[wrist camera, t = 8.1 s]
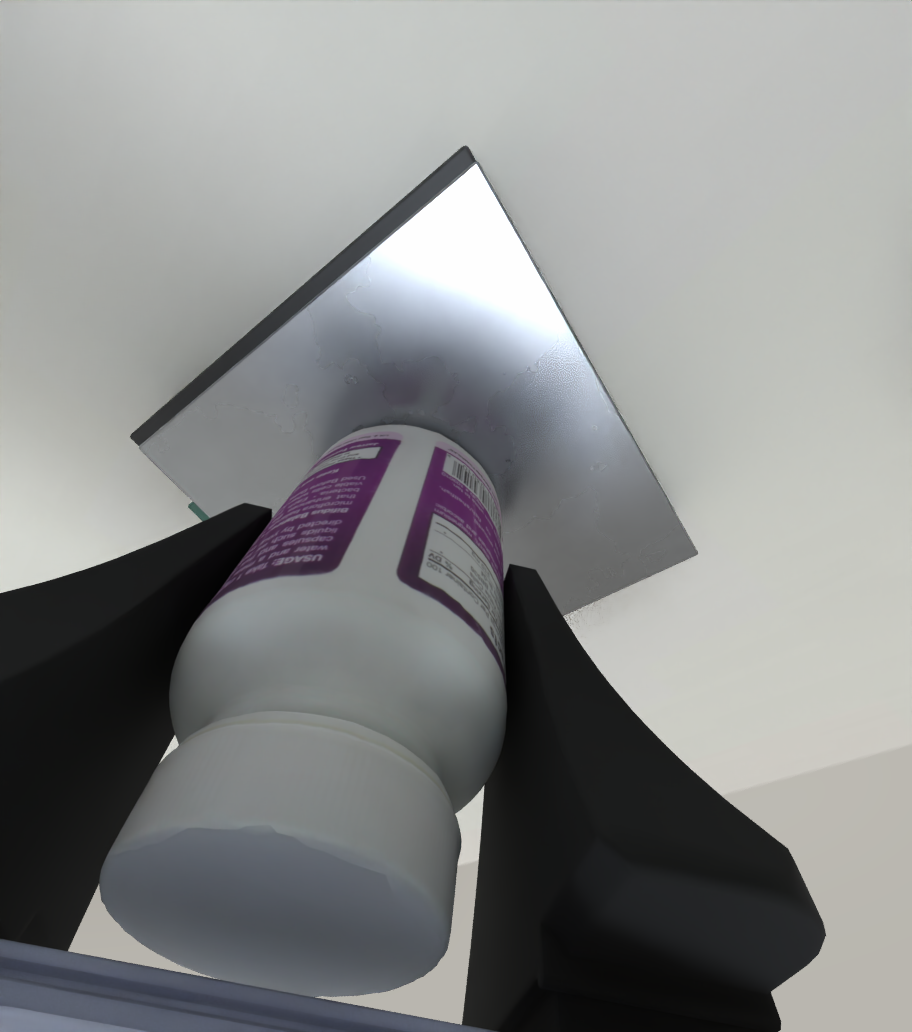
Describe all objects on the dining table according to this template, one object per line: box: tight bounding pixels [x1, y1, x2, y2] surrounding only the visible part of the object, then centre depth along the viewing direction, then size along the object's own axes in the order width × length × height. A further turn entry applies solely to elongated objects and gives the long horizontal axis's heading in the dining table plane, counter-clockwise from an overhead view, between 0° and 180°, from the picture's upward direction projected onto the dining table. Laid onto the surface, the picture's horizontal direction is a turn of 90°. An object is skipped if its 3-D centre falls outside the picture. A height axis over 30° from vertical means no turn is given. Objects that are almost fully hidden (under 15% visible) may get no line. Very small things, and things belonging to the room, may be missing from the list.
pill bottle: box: [99, 425, 507, 997], centre depth 10 cm, size 5×5×10 cm
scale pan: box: [139, 162, 698, 616], centre depth 14 cm, size 11×11×1 cm
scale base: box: [130, 146, 476, 521], centre depth 16 cm, size 12×12×2 cm
